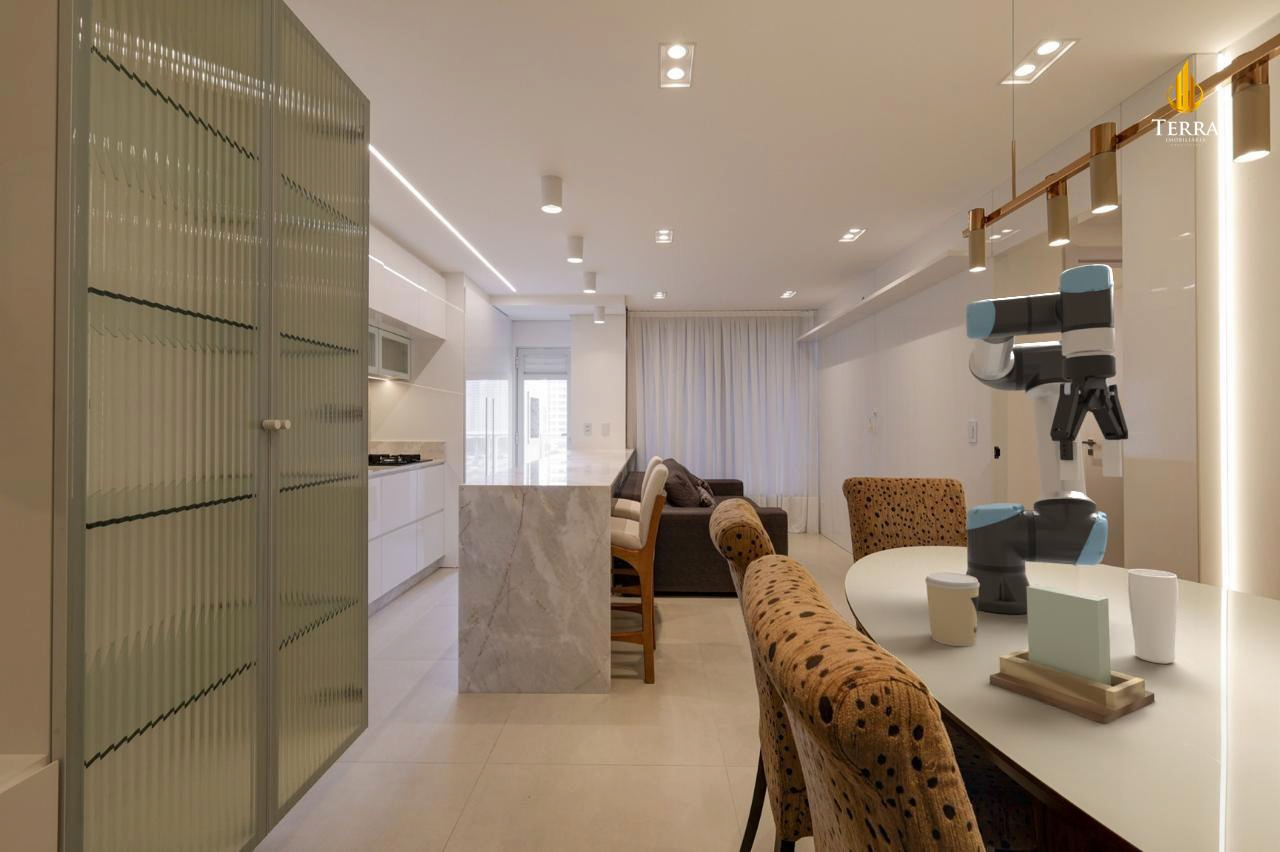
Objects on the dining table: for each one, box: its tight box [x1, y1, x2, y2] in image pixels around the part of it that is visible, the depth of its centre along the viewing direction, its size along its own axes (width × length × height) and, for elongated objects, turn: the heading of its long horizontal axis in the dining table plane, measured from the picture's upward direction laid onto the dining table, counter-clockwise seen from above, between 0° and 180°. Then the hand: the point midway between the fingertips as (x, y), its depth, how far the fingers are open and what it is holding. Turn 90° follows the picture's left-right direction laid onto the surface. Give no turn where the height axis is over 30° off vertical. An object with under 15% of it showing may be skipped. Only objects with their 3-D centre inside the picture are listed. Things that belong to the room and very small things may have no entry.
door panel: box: [1026, 583, 1112, 686], centre depth 93 cm, size 3×10×14 cm, turn 28°
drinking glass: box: [1126, 568, 1179, 665], centre depth 106 cm, size 7×7×15 cm
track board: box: [989, 647, 1155, 725], centre depth 93 cm, size 14×16×4 cm
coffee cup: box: [925, 572, 980, 647], centre depth 118 cm, size 9×9×12 cm
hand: (1092, 478), depth 105 cm, fingers open, 13 cm apart
